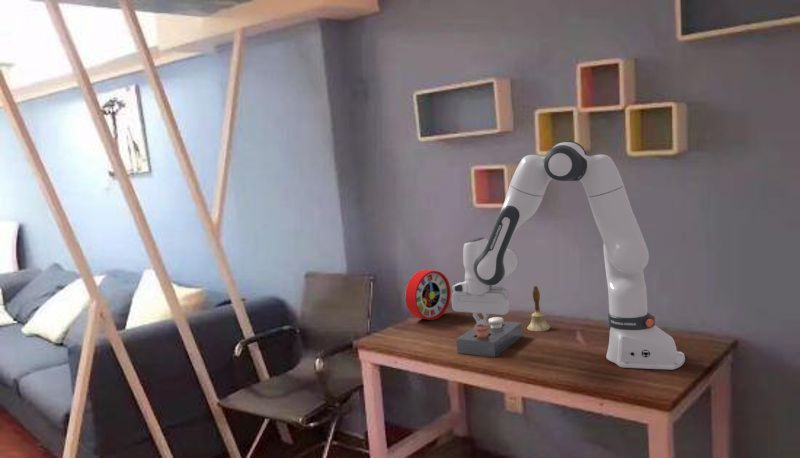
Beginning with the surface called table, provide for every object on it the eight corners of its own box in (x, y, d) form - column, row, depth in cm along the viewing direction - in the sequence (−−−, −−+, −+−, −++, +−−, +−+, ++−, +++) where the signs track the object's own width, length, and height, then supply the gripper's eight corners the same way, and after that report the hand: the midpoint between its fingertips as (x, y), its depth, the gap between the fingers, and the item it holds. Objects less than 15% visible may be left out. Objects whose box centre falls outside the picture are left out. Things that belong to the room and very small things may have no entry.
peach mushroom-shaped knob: (493, 340, 220) (492, 323, 219) (486, 344, 216) (485, 328, 215) (479, 338, 223) (478, 322, 222) (472, 343, 218) (471, 326, 218)
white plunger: (506, 333, 229) (505, 317, 228) (500, 337, 225) (499, 321, 224) (493, 332, 232) (492, 316, 231) (487, 336, 228) (485, 320, 227)
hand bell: (550, 331, 232) (547, 288, 230) (527, 332, 234) (524, 289, 232) (549, 324, 240) (547, 282, 238) (527, 325, 242) (524, 284, 240)
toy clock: (417, 325, 255) (412, 276, 253) (407, 323, 260) (403, 275, 257) (452, 313, 268) (448, 266, 266) (442, 311, 273) (438, 265, 270)
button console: (522, 336, 230) (521, 322, 229) (495, 357, 211) (493, 342, 210) (486, 332, 237) (485, 319, 237) (457, 353, 218) (456, 338, 218)
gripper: (510, 284, 213) (513, 325, 215) (456, 282, 225) (459, 320, 227) (503, 289, 208) (506, 330, 210) (447, 286, 220) (451, 325, 221)
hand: (481, 325), depth 218 cm, fingers closed, pressing on peach mushroom-shaped knob
